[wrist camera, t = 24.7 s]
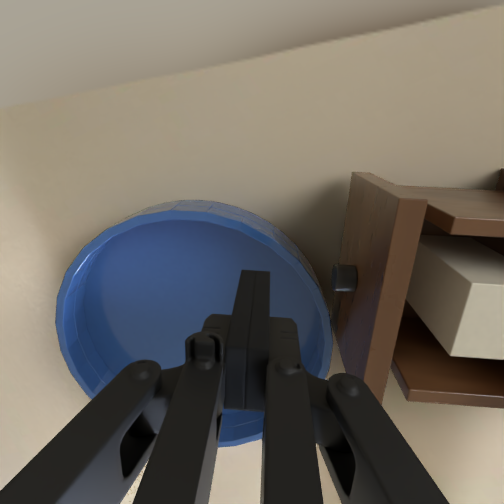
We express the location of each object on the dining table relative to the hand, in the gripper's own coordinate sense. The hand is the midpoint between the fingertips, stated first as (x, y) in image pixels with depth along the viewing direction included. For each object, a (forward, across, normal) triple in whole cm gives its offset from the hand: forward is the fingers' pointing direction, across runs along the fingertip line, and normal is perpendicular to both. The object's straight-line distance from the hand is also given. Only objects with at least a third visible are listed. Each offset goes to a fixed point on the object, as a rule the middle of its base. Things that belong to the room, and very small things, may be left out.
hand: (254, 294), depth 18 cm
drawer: (+7, +11, 0) cm, 13 cm away
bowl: (+8, -4, -7) cm, 11 cm away
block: (+6, +12, 0) cm, 13 cm away
